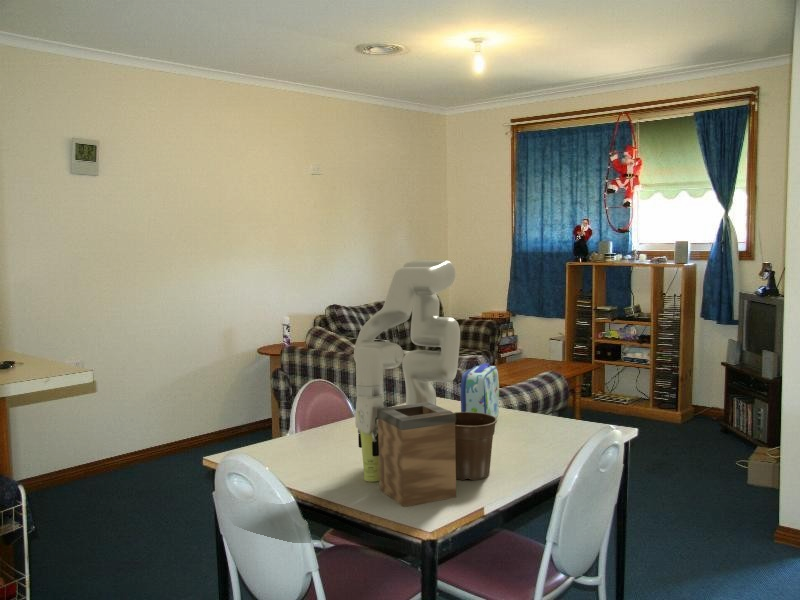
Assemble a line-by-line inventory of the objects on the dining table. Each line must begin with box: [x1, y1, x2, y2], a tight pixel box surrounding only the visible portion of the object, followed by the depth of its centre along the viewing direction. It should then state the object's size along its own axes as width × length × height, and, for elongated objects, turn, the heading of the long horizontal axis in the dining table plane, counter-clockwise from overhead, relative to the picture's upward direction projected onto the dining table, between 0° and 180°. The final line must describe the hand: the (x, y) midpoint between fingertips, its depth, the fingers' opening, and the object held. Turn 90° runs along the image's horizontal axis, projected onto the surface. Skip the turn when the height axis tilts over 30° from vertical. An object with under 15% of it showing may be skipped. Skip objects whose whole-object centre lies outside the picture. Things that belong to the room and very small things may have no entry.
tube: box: [357, 411, 379, 483], centre depth 206 cm, size 6×5×20 cm
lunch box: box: [459, 363, 500, 419], centre depth 265 cm, size 26×11×21 cm, turn 162°
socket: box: [377, 402, 457, 508], centre depth 194 cm, size 15×15×22 cm
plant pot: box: [454, 411, 498, 481], centre depth 209 cm, size 16×16×16 cm
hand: (370, 451), depth 206 cm, fingers open, 9 cm apart
